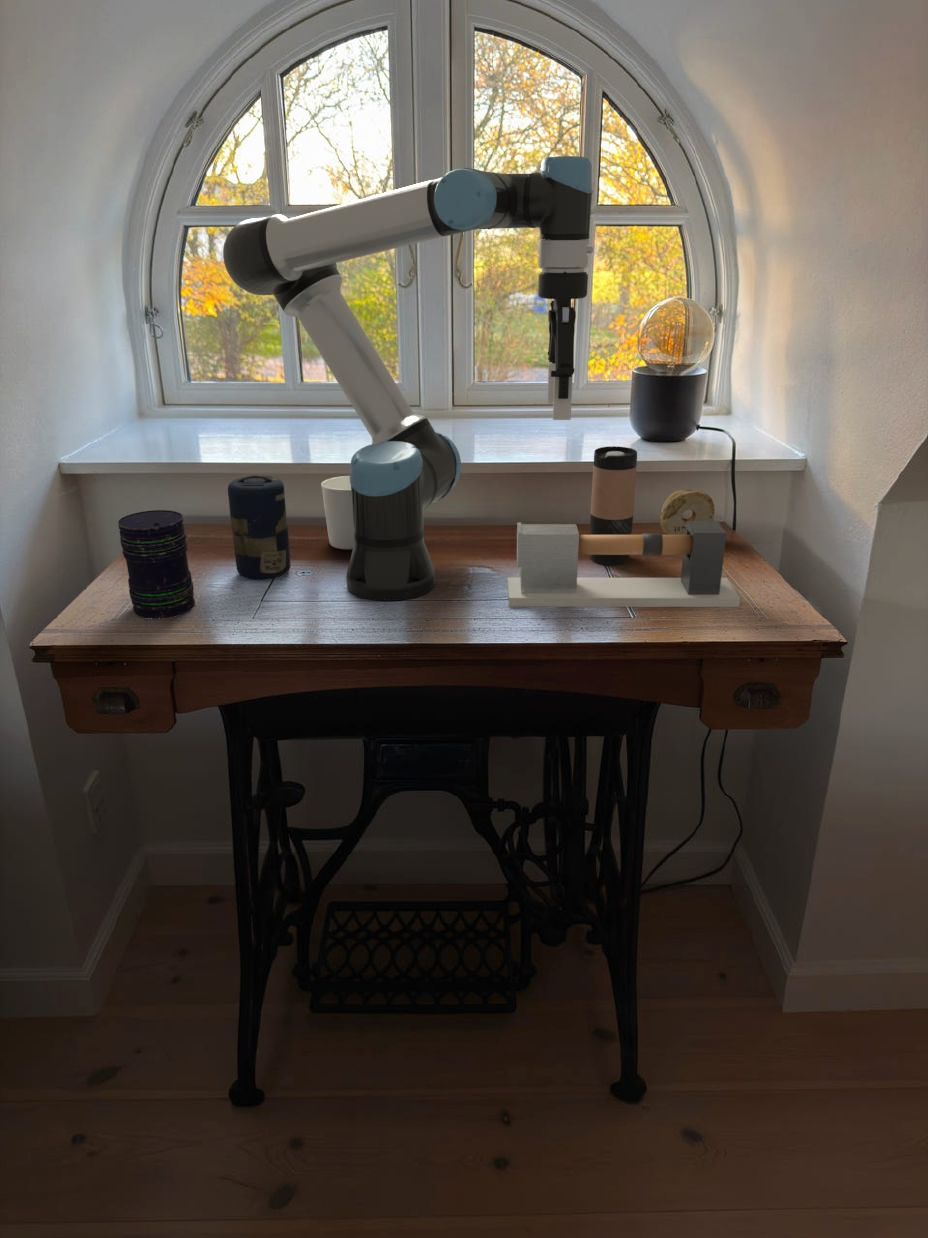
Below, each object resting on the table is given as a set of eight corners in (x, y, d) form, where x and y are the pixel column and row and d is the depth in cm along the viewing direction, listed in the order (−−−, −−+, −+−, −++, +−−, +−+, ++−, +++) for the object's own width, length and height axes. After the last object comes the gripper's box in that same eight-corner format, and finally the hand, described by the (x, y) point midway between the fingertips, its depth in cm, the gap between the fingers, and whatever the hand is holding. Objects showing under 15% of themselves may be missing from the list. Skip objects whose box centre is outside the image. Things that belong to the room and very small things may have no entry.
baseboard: (508, 606, 144) (508, 597, 143) (507, 585, 152) (507, 577, 151) (739, 606, 143) (740, 598, 142) (725, 585, 151) (726, 577, 150)
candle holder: (378, 549, 170) (375, 488, 165) (326, 552, 168) (321, 490, 163) (374, 533, 178) (371, 474, 174) (325, 536, 177) (320, 477, 172)
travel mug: (628, 552, 167) (636, 446, 159) (631, 566, 160) (639, 456, 152) (587, 551, 168) (593, 445, 160) (588, 565, 161) (594, 455, 153)
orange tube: (571, 558, 143) (571, 537, 142) (569, 551, 146) (570, 530, 145) (708, 558, 143) (711, 537, 141) (703, 551, 146) (705, 530, 144)
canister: (251, 563, 163) (240, 466, 156) (300, 566, 161) (291, 469, 154) (228, 582, 155) (215, 480, 147) (279, 585, 153) (269, 483, 146)
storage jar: (124, 604, 146) (108, 517, 140) (183, 591, 151) (170, 506, 145) (144, 624, 138) (128, 533, 132) (205, 609, 144) (192, 521, 138)
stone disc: (706, 535, 176) (711, 485, 172) (713, 541, 172) (719, 491, 168) (655, 537, 175) (659, 487, 171) (661, 543, 171) (665, 493, 167)
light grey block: (517, 593, 145) (518, 532, 141) (516, 581, 150) (517, 522, 145) (576, 593, 145) (579, 532, 140) (573, 581, 149) (576, 522, 145)
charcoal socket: (688, 594, 144) (694, 532, 140) (680, 580, 149) (686, 521, 145) (719, 594, 144) (726, 532, 139) (710, 581, 149) (717, 521, 145)
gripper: (597, 274, 124) (589, 426, 133) (580, 266, 147) (574, 396, 156) (543, 274, 124) (539, 427, 133) (534, 266, 147) (531, 397, 156)
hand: (558, 411), depth 144 cm, fingers open, 13 cm apart
